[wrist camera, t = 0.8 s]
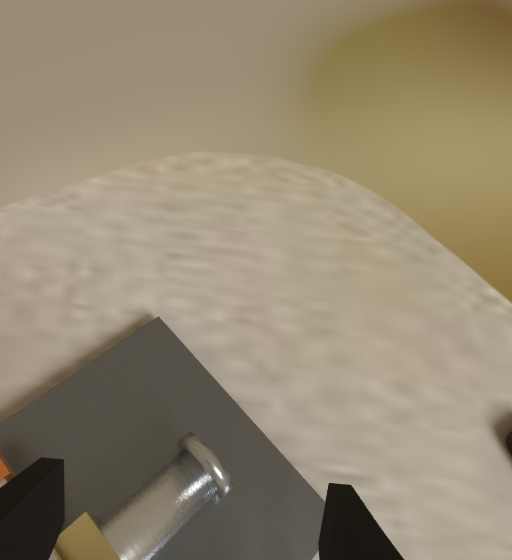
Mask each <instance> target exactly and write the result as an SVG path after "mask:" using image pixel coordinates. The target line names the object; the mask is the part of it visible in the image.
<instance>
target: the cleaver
mask: <svg viewBox="0 0 512 560" xmlns="http://www.w3.org/2000/svg"><path fill="white" fill-rule="evenodd" d="M507 443H508V446H509V448H510V450H511V452H512V432H511V433H510V435H509V436H508V437H507Z"/></svg>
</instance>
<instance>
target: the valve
mask: <svg viewBox="0 0 512 560" xmlns="http://www.w3.org/2000/svg"><path fill="white" fill-rule="evenodd" d="M0 452H1V453H2V455H3V456H4V458H5V459H6V461H7V462H8V464H9V465H10V467H11V468H12V470H13V471H14V473H15V474H16V475H18V474H19V473H20V472H22V471H23V470H24V469H26V468H27V467H29V466H30V465H31V464H33V463H34V462H35V461H37V460H38V459H40V458H41V457H45V458H56V459H64V494H65V522H64V525H63V527H62V530H61V532H60V535H59V537H58V539H57V542H56V544H55V547H54V549H55V550H56V552H57V553H58V555H59V556H60V558H61V559H62V560H312V559H313V557H314V556H315V555H316V553H317V552H318V551H319V547H318V541H319V536H320V530H321V524H322V519H323V513H324V507H325V502H324V500H323V499H322V498H321V497H320V496H319V495H318V494H317V493H316V491H315V490H314V489H313V488H312V487H311V486H310V485H309V484H308V483H307V481H306V480H305V479H304V478H303V477H302V476H301V475H300V474H299V473H298V471H297V470H296V469H295V468H294V467H293V466H292V465H291V464H290V462H289V461H288V460H287V459H286V458H285V457H284V456H283V455H282V454H281V452H280V451H279V450H278V449H277V448H276V447H275V446H274V445H273V444H272V442H271V441H270V440H269V439H268V438H267V437H266V436H265V435H264V433H263V432H262V431H261V430H260V429H259V428H258V427H257V426H256V425H255V423H254V422H253V421H252V420H251V419H250V418H249V417H248V416H247V415H246V413H245V412H244V411H243V410H242V409H241V408H240V407H239V406H238V404H237V403H236V402H235V401H234V400H233V399H232V398H231V397H230V396H229V394H228V393H227V392H226V391H225V390H224V389H223V388H222V387H221V386H220V384H219V383H218V382H217V381H216V380H215V379H214V378H213V377H212V375H211V374H210V373H209V372H208V371H207V370H206V369H205V368H204V367H203V365H202V364H201V363H200V362H199V361H198V360H197V359H196V358H195V357H194V355H193V354H192V353H191V352H190V351H189V350H188V349H187V348H186V346H185V345H184V344H183V343H182V342H181V341H180V340H179V339H178V338H177V336H176V335H175V334H174V333H173V332H172V331H171V330H170V329H169V328H168V326H167V325H166V324H165V323H164V322H163V321H162V320H161V319H160V318H159V316H158V317H157V318H155V319H154V320H153V321H151V322H150V323H148V324H147V325H145V326H144V327H142V328H141V329H139V330H138V331H137V332H135V333H134V334H132V335H131V336H129V337H128V338H126V339H125V340H123V341H122V342H121V343H119V344H118V345H116V346H115V347H113V348H112V349H110V350H109V351H107V352H106V353H105V354H103V355H102V356H100V357H99V358H97V359H96V360H94V361H93V362H91V363H90V364H89V365H87V366H86V367H84V368H83V369H81V370H80V371H78V372H77V373H75V374H74V375H73V376H71V377H70V378H68V379H67V380H65V381H64V382H62V383H61V384H59V385H58V386H57V387H55V388H54V389H52V390H51V391H49V392H48V393H46V394H45V395H44V396H42V397H41V398H39V399H38V400H36V401H35V402H33V403H32V404H30V405H29V406H28V407H26V408H25V409H23V410H22V411H20V412H19V413H17V414H16V415H14V416H13V417H12V418H10V419H9V420H7V421H6V422H4V423H3V424H1V425H0Z"/></svg>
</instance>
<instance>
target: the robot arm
mask: <svg viewBox="0 0 512 560" xmlns="http://www.w3.org/2000/svg"><path fill="white" fill-rule="evenodd" d="M64 522H65V494H64V459H56V458H45V457H41V458H40V459H38V460H37V461H35V462H34V463H33V464H31V465H30V466H29V467H27V468H26V469H24V470H23V471H22V472H20V473H19V474H18V475H16V476H15V477H14V478H12V479H11V480H10V481H8V482H7V483H6V484H4V485H3V486H2V487H0V560H49V558H50V556H51V553H52V551H53V549H54V547H55V544H56V542H57V539H58V537H59V535H60V532H61V530H62V527H63V525H64ZM318 547H319V559H320V560H404V559H403V557H402V556H401V555H400V553H399V552H398V551H397V549H396V548H395V547H394V545H393V544H392V543H391V541H390V540H389V539H388V537H387V536H386V535H385V533H384V532H383V530H382V529H381V528H380V526H379V525H378V523H377V522H376V520H375V519H374V518H373V516H372V515H371V513H370V512H369V510H368V509H367V507H366V506H365V504H364V503H363V501H362V500H361V499H360V497H359V496H358V494H357V493H356V491H355V490H354V488H353V487H352V486H351V485H346V484H335V483H329V485H328V490H327V496H326V502H325V507H324V513H323V519H322V524H321V530H320V536H319V541H318Z"/></svg>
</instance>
